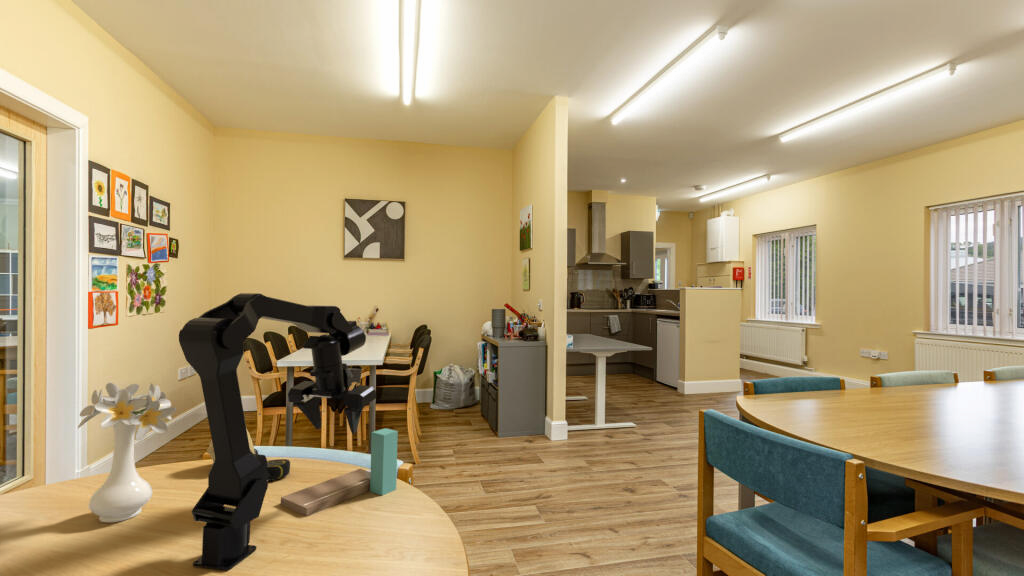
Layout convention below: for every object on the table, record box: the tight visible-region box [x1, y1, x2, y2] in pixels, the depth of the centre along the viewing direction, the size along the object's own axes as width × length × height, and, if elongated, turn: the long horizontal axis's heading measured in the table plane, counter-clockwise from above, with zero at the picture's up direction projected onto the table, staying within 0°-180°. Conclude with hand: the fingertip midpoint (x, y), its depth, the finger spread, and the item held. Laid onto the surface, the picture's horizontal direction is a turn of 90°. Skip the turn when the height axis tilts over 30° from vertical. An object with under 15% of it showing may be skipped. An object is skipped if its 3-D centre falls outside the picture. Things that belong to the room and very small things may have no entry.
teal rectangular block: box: [365, 427, 399, 496], centre depth 103 cm, size 4×7×13 cm, turn 57°
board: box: [280, 468, 370, 517], centre depth 100 cm, size 20×9×2 cm, turn 147°
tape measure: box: [267, 458, 291, 481], centre depth 108 cm, size 7×7×4 cm
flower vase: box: [77, 382, 177, 524], centre depth 88 cm, size 13×18×25 cm
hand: (336, 430), depth 100 cm, fingers open, 9 cm apart
